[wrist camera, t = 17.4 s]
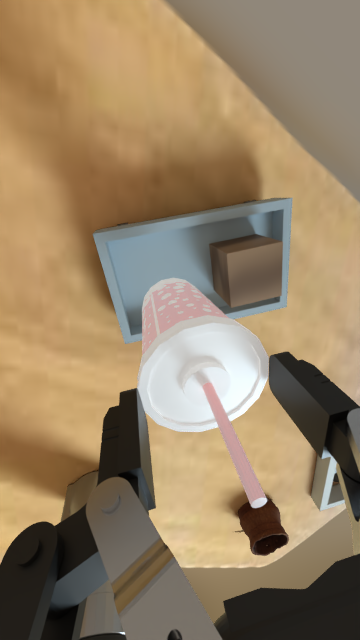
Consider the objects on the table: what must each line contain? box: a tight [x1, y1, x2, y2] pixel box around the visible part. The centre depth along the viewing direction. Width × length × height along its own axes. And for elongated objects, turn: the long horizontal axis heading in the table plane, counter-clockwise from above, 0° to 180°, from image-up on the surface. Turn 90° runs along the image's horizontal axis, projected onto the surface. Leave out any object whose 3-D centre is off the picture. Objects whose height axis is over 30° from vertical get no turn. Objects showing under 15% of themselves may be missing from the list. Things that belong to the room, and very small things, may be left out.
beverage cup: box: [137, 278, 269, 508], centre depth 13 cm, size 6×6×14 cm
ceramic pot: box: [235, 499, 289, 556], centre depth 52 cm, size 18×18×7 cm
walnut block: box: [209, 234, 283, 308], centre depth 24 cm, size 5×5×5 cm
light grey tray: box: [311, 455, 345, 511], centre depth 52 cm, size 15×20×3 cm
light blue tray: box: [93, 198, 292, 344], centre depth 26 cm, size 18×11×4 cm, turn 98°
